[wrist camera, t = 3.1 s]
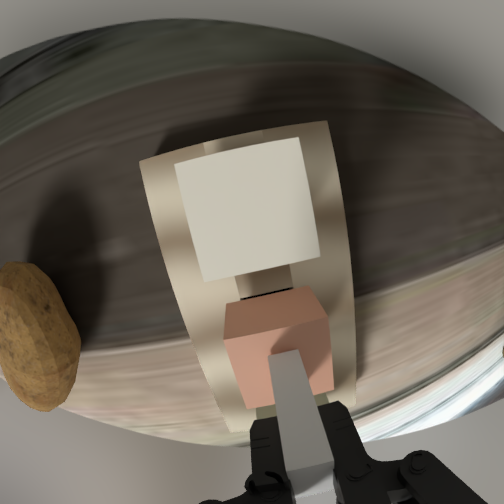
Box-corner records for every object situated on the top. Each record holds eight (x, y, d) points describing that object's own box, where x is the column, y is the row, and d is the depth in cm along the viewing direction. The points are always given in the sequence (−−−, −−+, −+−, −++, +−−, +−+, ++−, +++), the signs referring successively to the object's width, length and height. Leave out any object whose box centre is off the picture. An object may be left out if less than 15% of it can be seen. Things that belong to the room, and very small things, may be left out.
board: (150, 163, 18) (139, 161, 16) (316, 126, 18) (326, 120, 16) (230, 415, 24) (230, 432, 22) (348, 389, 24) (355, 405, 22)
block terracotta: (227, 289, 18) (223, 340, 12) (300, 273, 18) (328, 316, 12) (244, 349, 20) (246, 409, 14) (310, 334, 20) (334, 389, 14)
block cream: (196, 168, 16) (174, 164, 10) (277, 151, 16) (298, 137, 10) (215, 246, 18) (204, 282, 12) (292, 229, 18) (320, 256, 12)
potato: (98, 260, 20) (41, 300, 12) (99, 386, 23) (71, 439, 15) (18, 234, 19) (-41, 258, 11) (29, 354, 22) (-7, 394, 14)
